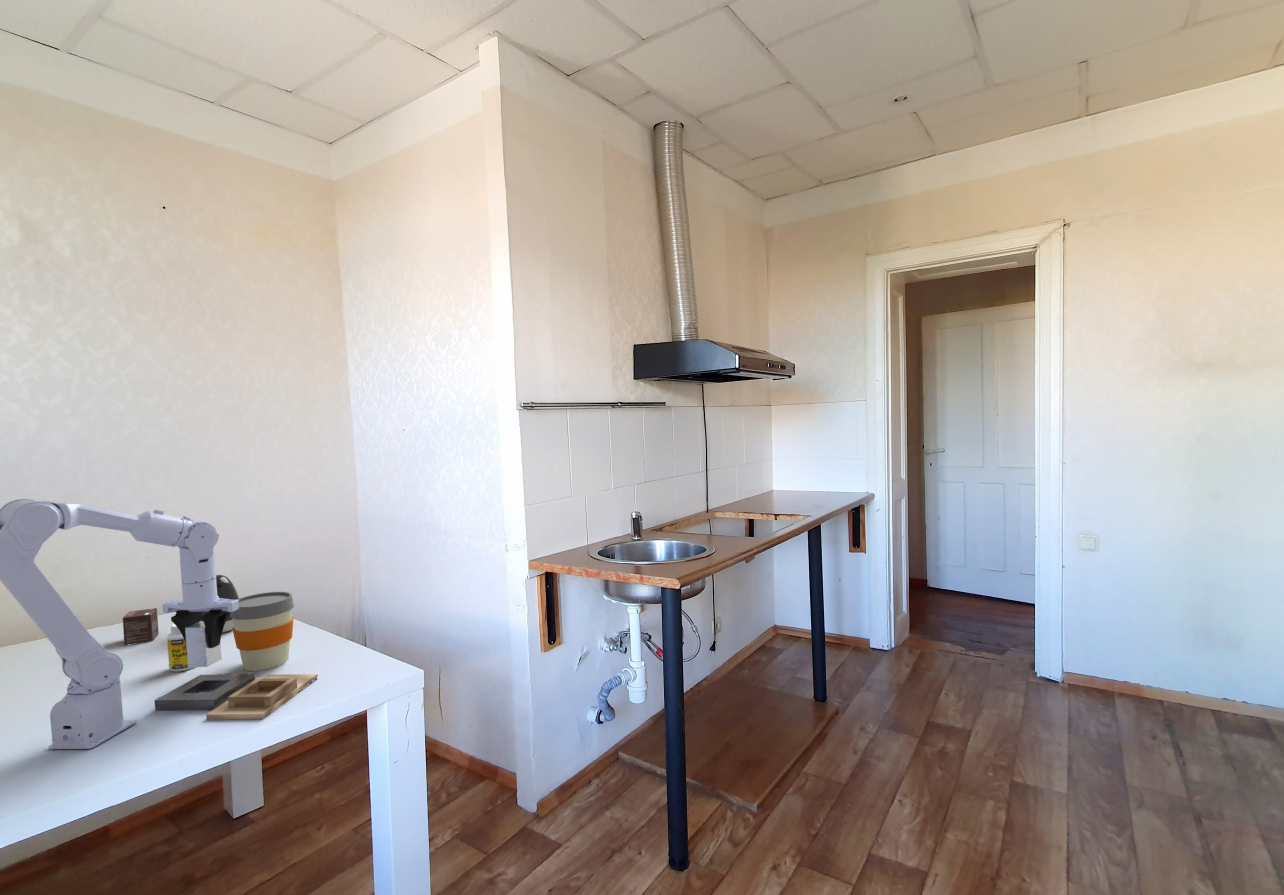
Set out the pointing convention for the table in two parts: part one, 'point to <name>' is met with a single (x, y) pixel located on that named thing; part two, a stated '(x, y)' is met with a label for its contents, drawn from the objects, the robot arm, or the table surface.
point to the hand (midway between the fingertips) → (203, 646)
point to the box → (140, 626)
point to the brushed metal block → (200, 647)
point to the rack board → (261, 697)
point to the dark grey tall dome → (225, 592)
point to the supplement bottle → (177, 651)
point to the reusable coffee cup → (263, 629)
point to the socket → (194, 700)
